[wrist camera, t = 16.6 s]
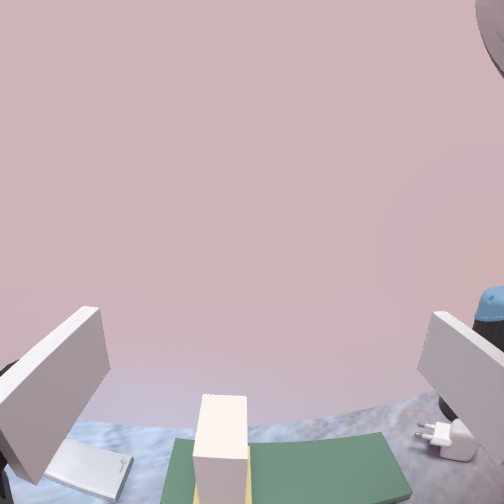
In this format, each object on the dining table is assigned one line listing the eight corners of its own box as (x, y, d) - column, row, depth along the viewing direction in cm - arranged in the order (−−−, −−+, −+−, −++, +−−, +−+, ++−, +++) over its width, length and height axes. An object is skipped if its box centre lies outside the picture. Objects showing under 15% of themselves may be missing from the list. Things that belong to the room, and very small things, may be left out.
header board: (378, 438, 37) (388, 413, 36) (408, 498, 24) (425, 474, 23) (176, 444, 36) (172, 418, 35) (161, 515, 23) (152, 493, 22)
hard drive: (132, 455, 31) (57, 433, 31) (115, 499, 23) (33, 468, 23) (134, 462, 32) (61, 441, 32) (118, 505, 24) (38, 475, 24)
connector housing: (243, 450, 34) (246, 396, 33) (244, 507, 25) (247, 459, 23) (206, 448, 34) (203, 394, 32) (199, 505, 25) (192, 456, 23)
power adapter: (405, 453, 33) (419, 426, 32) (412, 434, 37) (424, 407, 36) (468, 466, 26) (486, 439, 25) (470, 446, 30) (486, 419, 29)
